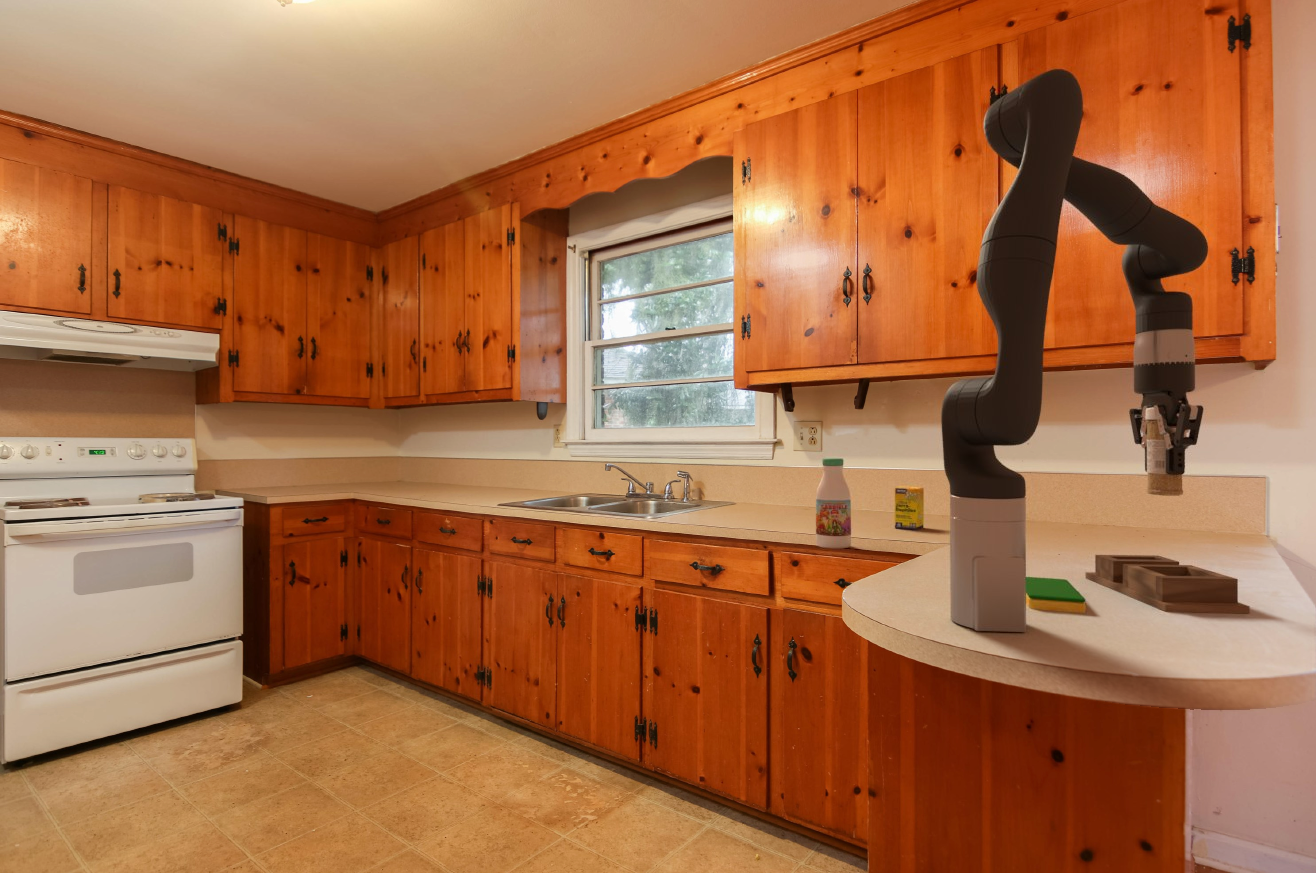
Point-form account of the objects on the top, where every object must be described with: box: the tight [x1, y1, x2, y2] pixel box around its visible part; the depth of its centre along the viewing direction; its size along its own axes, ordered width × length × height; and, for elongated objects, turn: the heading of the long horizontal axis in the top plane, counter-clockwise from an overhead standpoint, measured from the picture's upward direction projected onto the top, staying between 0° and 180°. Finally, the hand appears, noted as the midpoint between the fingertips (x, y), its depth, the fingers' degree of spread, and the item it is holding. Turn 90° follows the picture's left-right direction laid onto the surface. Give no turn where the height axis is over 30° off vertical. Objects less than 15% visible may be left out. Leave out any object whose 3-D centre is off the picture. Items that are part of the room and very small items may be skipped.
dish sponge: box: [1026, 576, 1086, 614], centre depth 103 cm, size 7×14×2 cm, turn 158°
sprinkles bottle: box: [1146, 407, 1184, 497], centre depth 103 cm, size 5×5×14 cm
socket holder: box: [1085, 554, 1250, 614], centre depth 106 cm, size 22×11×4 cm, turn 173°
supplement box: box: [894, 485, 925, 531], centre depth 179 cm, size 6×6×11 cm
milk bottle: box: [815, 457, 852, 549], centre depth 152 cm, size 8×8×20 cm
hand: (1164, 472), depth 103 cm, fingers closed on sprinkles bottle, 4 cm apart
